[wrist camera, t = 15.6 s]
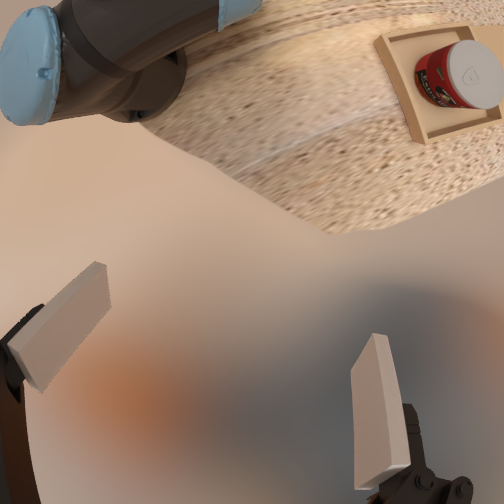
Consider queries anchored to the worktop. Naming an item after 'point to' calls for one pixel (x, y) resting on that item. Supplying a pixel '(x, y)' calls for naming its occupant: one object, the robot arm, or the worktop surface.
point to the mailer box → (403, 79)
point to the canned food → (461, 76)
